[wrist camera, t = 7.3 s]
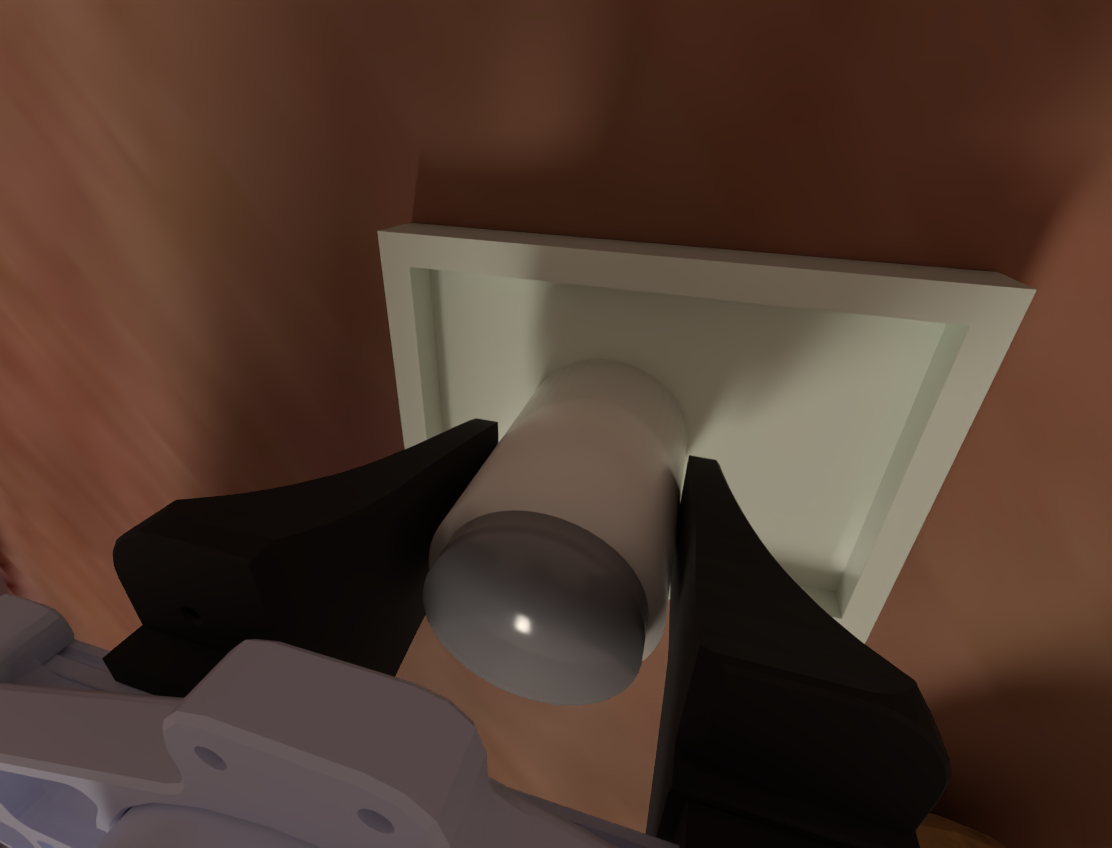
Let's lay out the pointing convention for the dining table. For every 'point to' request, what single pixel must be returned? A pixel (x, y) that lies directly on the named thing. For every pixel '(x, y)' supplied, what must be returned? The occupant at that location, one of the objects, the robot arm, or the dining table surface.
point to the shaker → (565, 539)
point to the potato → (951, 835)
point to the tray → (724, 372)
